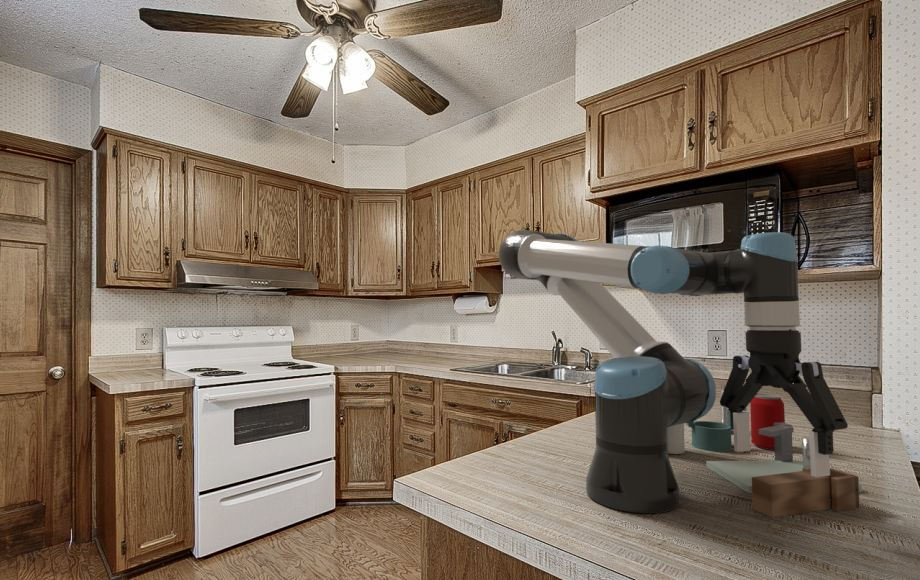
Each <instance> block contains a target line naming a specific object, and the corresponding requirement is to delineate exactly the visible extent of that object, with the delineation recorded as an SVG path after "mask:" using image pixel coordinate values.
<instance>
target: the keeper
mask: <svg viewBox="0 0 920 580" xmlns="http://www.w3.org/2000/svg"><path fill="white" fill-rule="evenodd" d="M794 432H795V431H794V426H792V424H790V423H787V422H785V423H784V422H776V423H774V426H772V427H766V428H761V429H759V434H760V435H765V436H769V437H774V443H775V450H774V461H782V462H793V461H794V458H793V457H794V456H793V454H794V453H793V452H794V451H793V433H794Z"/></svg>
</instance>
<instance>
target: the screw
mask: <svg viewBox="0 0 920 580" xmlns="http://www.w3.org/2000/svg"><path fill="white" fill-rule="evenodd" d="M726 384H727V382H724V381H723V382H721V383H720V397H719V399H721V397H722V394H723V392H724V389H725V386H726ZM719 405H720V420H716V421H715V422H719V423H724V424H727V409H728V408H727V407H725V406H721V404H719Z"/></svg>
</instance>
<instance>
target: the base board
mask: <svg viewBox="0 0 920 580" xmlns="http://www.w3.org/2000/svg"><path fill="white" fill-rule="evenodd" d="M705 464H706V468H708V469H709V470H711V471H712V472H714V473H716V474H717V475H719V476H720V477H722V478H723V479H725V480H727V481H729V482H730V483H732V484H733V485H735V486H736V487H739V488H740V489H742V490H743V491H745V492H746V493H748V494H752V477H757V476H766V475H774V474H782V473H791V472H799V471H803V459H800V460H799V459H798V460H793V462H782V461H775V460H706V463H705ZM859 493H862V484H859Z"/></svg>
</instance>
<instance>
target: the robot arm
mask: <svg viewBox="0 0 920 580" xmlns="http://www.w3.org/2000/svg"><path fill="white" fill-rule="evenodd" d="M796 248H797V247H796V240H795V237H794V236H793V234H791V233H788V232H780V231H779V232H778V231H776V232H773V231H771V232H762V233H761V232H759V233H755V234H754V233H753V234H749V235H745V236H744V237H743V238H742V239H741V245H740V248H737V249H733V250H725V251H715V252H705V251H697V250H690V249H683V248H676V247H675V248H674V247H673V246H668V245H651V246H650V245H648V246H647V245H646V246H645V245H638V244H620V243H606V242H605V243H604V242H592V241H579V240H578V239H577V238H575V237H573V236H570V235H567V234H564V233H553V232H552V233H551V232H544V231H536V230H530V229H529V230H528V229H522V230H521V229H520V230H515V231H513V232H511V233H510V234H509V233H508V235H507V236H506V237H504V239H503V241H502V242H501V244H500V246H499V250H498V260H499V265H501V268H502V269H503V270H504V272H505V273H507V274H508V275H510V276H511V277H514V278H515V279H519V280H527V281H528V280H531V281H538V282H540V283H541V284H542V285H543V286H544V288H545V289H546V290H547V291H548V293H549V294H551V295H553V296H561V299H563V301H564V302H566V303H567V304H568V306H569V307H570V308H571V309H572V311H573V312H574V314H576V315H577V316H578V317H579V319H580V320H581V321H582V323H583V324H584V325H585V326H586V327H587V328H588V329H589V330H590V332H591V333H592V334H593V336H595V337H596V338H597V339H598V341H599V342H600V343H601V344H602V345H603V347H604V348H605V349H606V350H607V351H608V353H610V355H611V356H612V357H613V358H611V359H606V360H604V361H602V362H600V363H599V364H598V365H597V367H596V368H595V379H594V383H593V388H594V389H593V390H594V404H595V405H594V407H595V408H594V409H595V450H594V453H593V456H592V459H591V462H590V465H589V468H588V472H587V474H586V475H587V476H586V479H585V480H586V481H585V483H586V488H585V490H586V494H587V496H588V497H589V498H590V499H591V500H592V501H595V502H596V503H598V504H599V505H603V506H605V507H608V508H610V509H614V510H619V511H623V512H630V513H636V514H660V513H665V512H669V511H673V510H675V509H676V508H677V507H678V506H679V505H680V499H681V498H680V488H679V484H678V481H677V478H676V475H675V472H674V469H673V466H672V463H671V461H670V459H669V455H668V453H667V427H670V426H674V425H678V424H683V423H684V424H686V423H691V422H693V421H698V420H699V419H700V418H702V417H705V415H707V414H709V412H710V411H711V410H712V408H713V406H714V404H715V401H716V397H717V385H716V381H715V379H714V376H713V375H712V373H711V371H710V370H709V369H708V368H707V367H706V366H705V365H704V364H702V363H701V362H699V361H697V360H694V359H691V358H684V357H683V356H682V354H681V353H680V352H679V351H677V349H676V348H674V346H673V345H672V344H670V343H669V342H667V341H657V340H656V339H655V338H654V336H652V335H651V334H650V333H649V332H648V331H647V330H646V329H645V328H644V326H642V324H640V323H639V322H638V321H637V319H636V318H635V317H634V316H633V315H632V314H631V313H630V312H629V311H628V310H627V309H626V308H625V307H624V306H623V305H622V304H621V303H620V302H619V301H618V300H617V299H616V298H615V297H614V296H613V294H612V293H611V292H610V291H609V290H607V288H606V287H605V286H604V285H609V286H610V285H611V286H617V287H618V286H619V287H623V288H631V289H638V290H643V291H645V292H648V293H650V294H651V293H652V294H660V295H667V294H678V295H680V296H690V297H701V296H711V295H712V296H713V295H725V294H743V302H744V303H743V305H744V326H746V327H748V329H747V330H746V331H745V333H744V334H745V350H746V351H747V352H748V353H749V355H746V354H745V355H734V356H733V358H732V369H731V371H730V374H729V377H728V379H727V381H726V386H725V389H724V392H723V394H722V397H720V398H721V399H720V398H719V399H720V401H719V405H721V406H725V407H727V408H728V409H729V411H730V413H731V428H732V430H731V431H733V450H734V452H737V453H741V452H748V451H749V452H750V451H751V450H752V449H751V424H750V412H748V409H747V407H748V406H749V404H750V402H751V401H752V399H753V398H754V397H755V396H756V394H759V392H760V390H761V389H762V388H763V387H772V388H776V389H782V390H783V391H784V392H785V393H787V394H788V395H789V396H790V398H792V400H793V401H794V403H795V404H796V405H797V407H798V408H799V410H800V411H801V413H802V414H803V415H804V417H805V418H806V419H807V421H808V422H809V424H810V425H811V426H812V429H811V430H808V437H809V444H810V464H811V476H814V477H822V476H829V475H830V468H831V467H830V466H831V464H830V455H833V453H834V432H835V431H838V430H839V431H841V430H846V429H847V428H848V427H849V426H848V425H849V424H848V422H847V420H846V418H845V416H844V415H843V412H842V410H841V408H840V407H839V405H838V403H837V400H836V399H835V397H834V395H833V393H832V391H831V389H830V388H829V385H828V383H827V382H826V379H825V377H824V375H823V368H822V367H823V366H822V364H821V363H820V362H819V361H804V362H801V360H800V353H802V351H803V350H802V334H801V331H800V330H799V329H798V330H796V329H797V328H798V327H800V326H801V319H800V317H801V314H800V301H799V300H800V299H799V298H800V297H799V268H798V265H799V264H798V263H799V259H798V256H797V255H798V254H797V249H796ZM796 327H797V328H796ZM750 370H751V371H750ZM749 371H750V373H749ZM801 376H802V377H803V379H802V378H801ZM721 406H720V407H721Z"/></svg>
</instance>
